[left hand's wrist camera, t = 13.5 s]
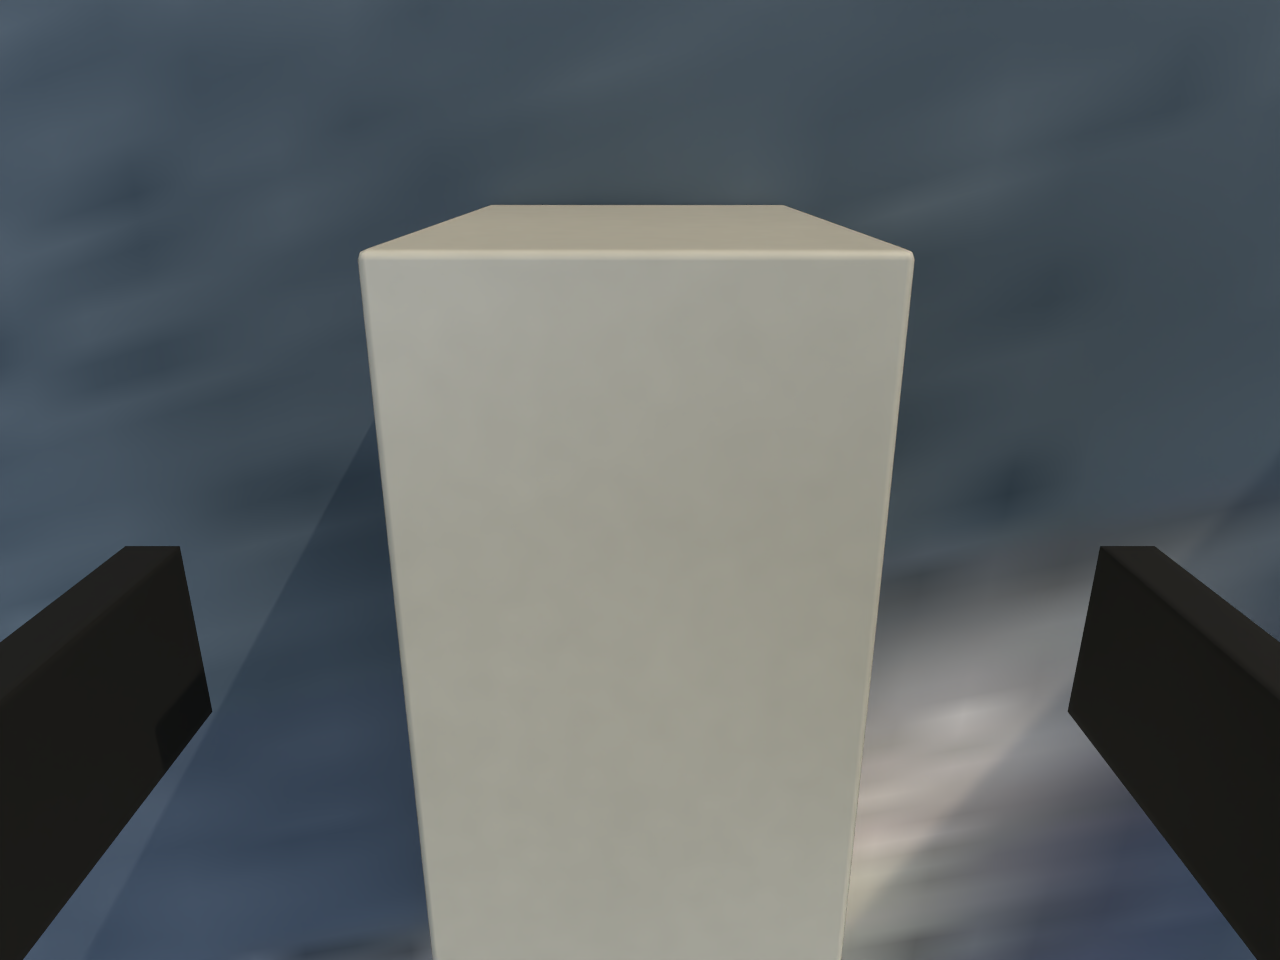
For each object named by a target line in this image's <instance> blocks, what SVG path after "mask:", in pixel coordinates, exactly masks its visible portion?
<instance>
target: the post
mask: <svg viewBox="0 0 1280 960" xmlns="http://www.w3.org/2000/svg"><path fill="white" fill-rule="evenodd" d="M358 266H359V275H360V284H361V294H362V303H363V313H364V322H365V331H366V341H367V350H368V359H369V369H370V378H371V387H372V397H373V406H374V416H375V425H376V434H377V444H378V453H379V462H380V472H381V481H382V491H383V500H384V509H385V519H386V528H387V537H388V547H389V556H390V565H391V575H392V584H393V594H394V603H395V612H396V622H397V631H398V640H399V650H400V659H401V668H402V678H403V687H404V697H405V706H406V715H407V725H408V734H409V743H410V753H411V762H412V772H413V781H414V790H415V800H416V809H417V818H418V828H419V837H420V846H421V856H422V865H423V875H424V884H425V893H426V903H427V912H428V921H429V931H430V940H431V950H432V959H433V960H841V957H842V948H843V938H844V929H845V919H846V910H847V900H848V890H849V881H850V871H851V862H852V852H853V843H854V833H855V824H856V814H857V804H858V795H859V785H860V776H861V766H862V757H863V747H864V738H865V728H866V718H867V709H868V699H869V690H870V680H871V671H872V661H873V652H874V642H875V632H876V623H877V613H878V604H879V594H880V585H881V575H882V566H883V556H884V546H885V537H886V527H887V518H888V508H889V499H890V489H891V480H892V470H893V460H894V451H895V441H896V432H897V422H898V413H899V403H900V394H901V384H902V374H903V365H904V355H905V346H906V336H907V327H908V317H909V308H910V298H911V289H912V279H913V269H914V256H913V253H912V252H911V251H908V250H906V249H904V248H901V247H898V246H895V245H893V244H890V243H887V242H884V241H881V240H879V239H876V238H873V237H870V236H868V235H865V234H862V233H859V232H856V231H854V230H851V229H848V228H845V227H843V226H840V225H837V224H834V223H831V222H829V221H826V220H823V219H820V218H818V217H815V216H812V215H809V214H806V213H804V212H801V211H798V210H795V209H792V208H790V207H787V206H784V205H490V206H487V207H485V208H482V209H479V210H476V211H473V212H470V213H468V214H465V215H462V216H459V217H456V218H453V219H451V220H448V221H445V222H442V223H439V224H436V225H433V226H431V227H428V228H425V229H422V230H419V231H416V232H414V233H411V234H408V235H405V236H402V237H399V238H397V239H394V240H391V241H388V242H385V243H382V244H380V245H377V246H374V247H371V248H368V249H366V250H364V251H361V252H360V254H359V258H358Z"/></svg>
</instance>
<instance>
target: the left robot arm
mask: <svg viewBox="0 0 1280 960" xmlns="http://www.w3.org/2000/svg"><path fill="white" fill-rule="evenodd" d="M211 713H212V708H211V703H210V697H209V692H208V687H207V682H206V677H205V672H204V667H203V662H202V657H201V652H200V647H199V642H198V637H197V632H196V627H195V621H194V616H193V611H192V606H191V601H190V596H189V591H188V586H187V581H186V576H185V571H184V566H183V561H182V556H181V551H180V546H125V547H124V548H123V549H121V550H120V551H119V552H117V553H116V554H115V555H113V556H112V557H111V558H110V559H108V560H107V561H106V562H104V563H103V564H102V565H100V566H99V567H98V568H97V569H95V570H94V571H93V572H91V573H90V574H89V575H87V576H86V577H85V578H84V579H82V580H81V581H80V582H78V583H77V584H76V585H74V586H73V587H72V588H71V589H69V590H68V591H67V592H65V593H64V594H63V595H61V596H60V597H59V598H58V599H56V600H55V601H54V602H52V603H51V604H50V605H48V606H47V607H46V608H44V609H43V610H42V611H41V612H39V613H38V614H37V615H35V616H34V617H33V618H31V619H30V620H29V621H28V622H26V623H25V624H24V625H22V626H21V627H20V628H18V629H17V630H16V631H15V632H13V633H12V634H11V635H9V636H8V637H7V638H5V639H4V640H3V641H2V642H0V960H23V959H24V958H25V956H26V955H27V954H28V952H29V951H30V950H31V948H32V947H33V946H34V944H35V943H36V942H37V940H38V939H39V938H40V937H41V935H42V934H43V933H44V931H45V930H46V929H47V927H48V926H49V925H50V923H51V922H52V921H53V920H54V918H55V917H56V916H57V914H58V913H59V912H60V910H61V909H62V908H63V906H64V905H65V904H66V902H67V901H68V900H69V899H70V897H71V896H72V895H73V893H74V892H75V891H76V889H77V888H78V887H79V885H80V884H81V883H82V882H83V880H84V879H85V878H86V876H87V875H88V874H89V872H90V871H91V870H92V868H93V867H94V866H95V865H96V863H97V862H98V861H99V859H100V858H101V857H102V855H103V854H104V853H105V851H106V850H107V849H108V847H109V846H110V845H111V844H112V842H113V841H114V840H115V838H116V837H117V836H118V834H119V833H120V832H121V830H122V829H123V828H124V827H125V825H126V824H127V823H128V821H129V820H130V819H131V817H132V816H133V815H134V813H135V812H136V811H137V809H138V808H139V807H140V806H141V804H142V803H143V802H144V800H145V799H146V798H147V796H148V795H149V794H150V792H151V791H152V790H153V789H154V787H155V786H156V785H157V783H158V782H159V781H160V779H161V778H162V777H163V775H164V774H165V773H166V771H167V770H168V769H169V768H170V766H171V765H172V764H173V762H174V761H175V760H176V758H177V757H178V756H179V754H180V753H181V752H182V751H183V749H184V748H185V747H186V745H187V744H188V743H189V741H190V740H191V739H192V737H193V736H194V735H195V733H196V732H197V731H198V730H199V728H200V727H201V726H202V724H203V723H204V722H205V720H206V719H207V718H208V716H209V715H210V714H211ZM1068 713H1069V714H1070V715H1071V716H1072V718H1073V719H1074V720H1075V722H1076V723H1077V724H1078V726H1079V727H1080V728H1081V730H1082V731H1083V732H1084V733H1085V735H1086V736H1087V737H1088V739H1089V740H1090V741H1091V743H1092V744H1093V745H1094V747H1095V748H1096V749H1097V751H1098V752H1099V753H1100V754H1101V756H1102V757H1103V758H1104V760H1105V761H1106V762H1107V764H1108V765H1109V766H1110V768H1111V769H1112V770H1113V771H1114V773H1115V774H1116V775H1117V777H1118V778H1119V779H1120V781H1121V782H1122V783H1123V785H1124V786H1125V787H1126V789H1127V790H1128V791H1129V792H1130V794H1131V795H1132V796H1133V798H1134V799H1135V800H1136V802H1137V803H1138V804H1139V806H1140V807H1141V808H1142V809H1143V811H1144V812H1145V813H1146V815H1147V816H1148V817H1149V819H1150V820H1151V821H1152V823H1153V824H1154V825H1155V826H1156V828H1157V829H1158V830H1159V832H1160V833H1161V834H1162V836H1163V837H1164V838H1165V840H1166V841H1167V842H1168V844H1169V845H1170V846H1171V847H1172V849H1173V850H1174V851H1175V853H1176V854H1177V855H1178V857H1179V858H1180V859H1181V861H1182V862H1183V863H1184V864H1185V866H1186V867H1187V868H1188V870H1189V871H1190V872H1191V874H1192V875H1193V876H1194V878H1195V879H1196V880H1197V882H1198V883H1199V884H1200V885H1201V887H1202V888H1203V889H1204V891H1205V892H1206V893H1207V895H1208V896H1209V897H1210V899H1211V900H1212V901H1213V902H1214V904H1215V905H1216V906H1217V908H1218V909H1219V910H1220V912H1221V913H1222V914H1223V916H1224V917H1225V918H1226V920H1227V921H1228V922H1229V923H1230V925H1231V926H1232V927H1233V929H1234V930H1235V931H1236V933H1237V934H1238V935H1239V937H1240V938H1241V939H1242V940H1243V942H1244V943H1245V944H1246V946H1247V947H1248V948H1249V950H1250V951H1251V952H1252V954H1253V955H1254V956H1255V957H1256V959H1257V960H1280V642H1279V641H1277V640H1276V639H1275V638H1273V637H1272V636H1271V635H1269V634H1268V633H1267V632H1265V631H1264V630H1263V629H1262V628H1260V627H1259V626H1258V625H1256V624H1255V623H1254V622H1252V621H1251V620H1250V619H1249V618H1247V617H1246V616H1245V615H1243V614H1242V613H1241V612H1239V611H1238V610H1237V609H1236V608H1234V607H1233V606H1232V605H1230V604H1229V603H1228V602H1226V601H1225V600H1224V599H1223V598H1221V597H1220V596H1219V595H1217V594H1216V593H1215V592H1213V591H1212V590H1211V589H1209V588H1208V587H1207V586H1206V585H1204V584H1203V583H1202V582H1200V581H1199V580H1198V579H1196V578H1195V577H1194V576H1193V575H1191V574H1190V573H1189V572H1187V571H1186V570H1185V569H1183V568H1182V567H1181V566H1180V565H1178V564H1177V563H1176V562H1174V561H1173V560H1172V559H1170V558H1169V557H1168V556H1167V555H1165V554H1164V553H1163V552H1161V551H1160V550H1159V549H1157V548H1156V547H1155V546H1100V551H1099V556H1098V561H1097V566H1096V571H1095V576H1094V581H1093V586H1092V591H1091V596H1090V601H1089V606H1088V611H1087V616H1086V622H1085V627H1084V632H1083V637H1082V642H1081V647H1080V652H1079V657H1078V662H1077V667H1076V672H1075V677H1074V682H1073V687H1072V692H1071V698H1070V703H1069V708H1068Z"/></svg>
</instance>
